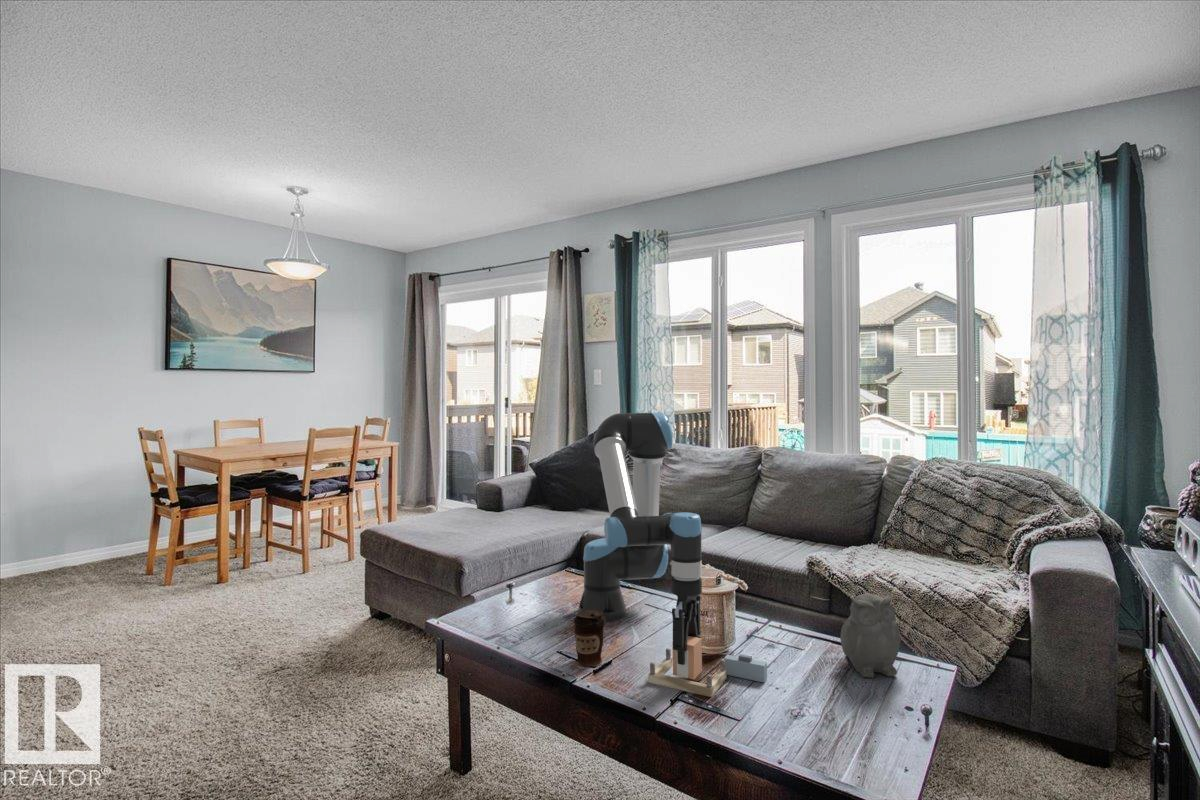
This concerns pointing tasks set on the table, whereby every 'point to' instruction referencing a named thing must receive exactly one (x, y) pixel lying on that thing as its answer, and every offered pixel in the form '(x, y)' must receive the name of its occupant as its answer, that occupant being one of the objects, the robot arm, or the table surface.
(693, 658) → the block
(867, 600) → the figurine
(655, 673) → the cradle
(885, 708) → the table surface
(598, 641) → the coffee cup
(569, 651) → the table surface
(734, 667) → the bar
